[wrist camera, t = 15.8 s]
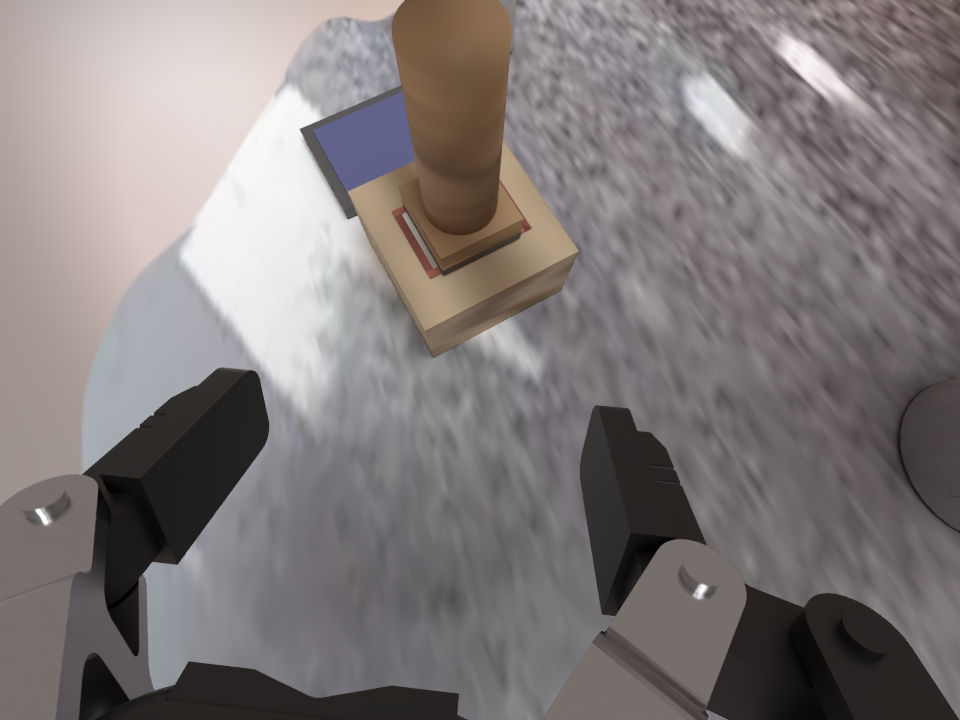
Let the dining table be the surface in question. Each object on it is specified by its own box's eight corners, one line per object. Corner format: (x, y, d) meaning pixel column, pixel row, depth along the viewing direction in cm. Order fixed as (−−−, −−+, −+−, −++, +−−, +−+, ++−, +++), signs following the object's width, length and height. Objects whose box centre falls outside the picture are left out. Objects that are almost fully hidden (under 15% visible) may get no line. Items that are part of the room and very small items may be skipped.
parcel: (489, 182, 30) (493, 123, 25) (560, 290, 28) (579, 250, 23) (368, 239, 29) (346, 190, 24) (433, 357, 27) (424, 329, 22)
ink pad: (434, 84, 32) (432, 69, 31) (481, 156, 31) (482, 144, 30) (305, 140, 31) (298, 127, 30) (348, 219, 29) (343, 208, 28)
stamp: (478, 173, 24) (481, -46, 14) (520, 238, 23) (555, 52, 13) (403, 207, 24) (351, 4, 14) (443, 276, 23) (419, 111, 13)
